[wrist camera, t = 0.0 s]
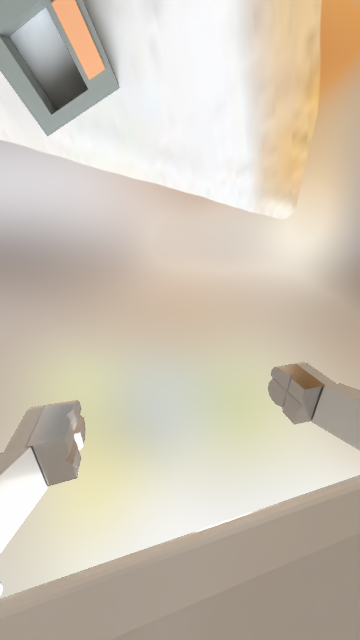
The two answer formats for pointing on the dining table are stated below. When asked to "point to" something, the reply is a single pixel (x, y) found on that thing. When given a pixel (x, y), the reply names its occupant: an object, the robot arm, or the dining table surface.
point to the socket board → (83, 45)
